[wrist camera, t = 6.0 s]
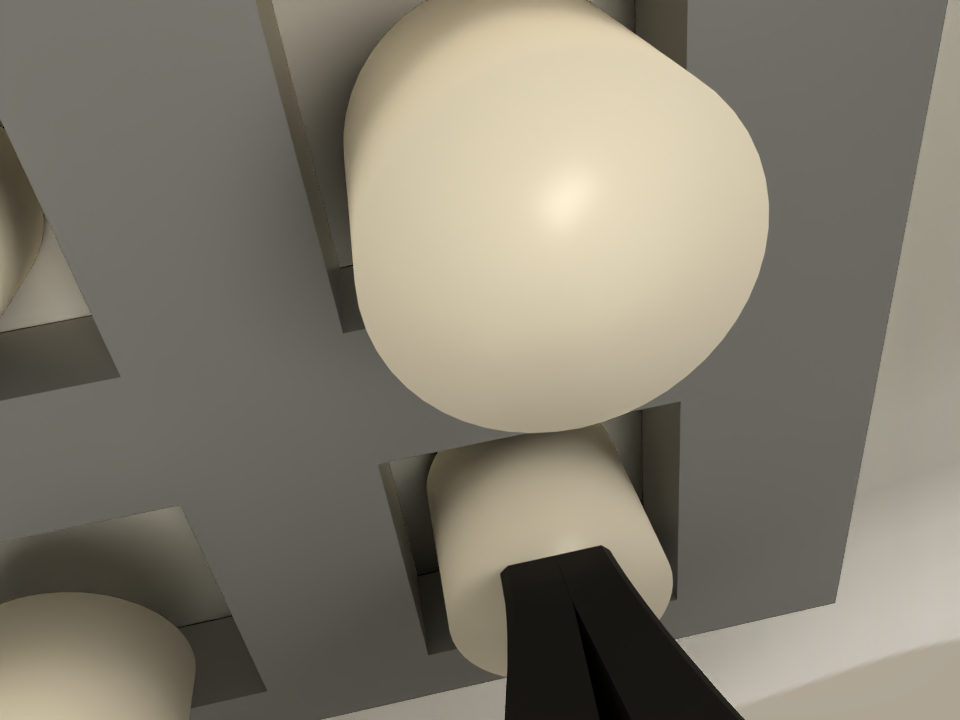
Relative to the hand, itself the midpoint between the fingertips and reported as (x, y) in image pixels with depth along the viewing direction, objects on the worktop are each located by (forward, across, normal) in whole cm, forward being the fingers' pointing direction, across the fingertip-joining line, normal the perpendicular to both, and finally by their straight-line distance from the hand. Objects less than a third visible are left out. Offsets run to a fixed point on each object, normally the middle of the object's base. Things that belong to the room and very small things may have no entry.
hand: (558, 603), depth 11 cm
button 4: (+1, 0, -6) cm, 6 cm away
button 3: (+2, 0, 0) cm, 2 cm away
